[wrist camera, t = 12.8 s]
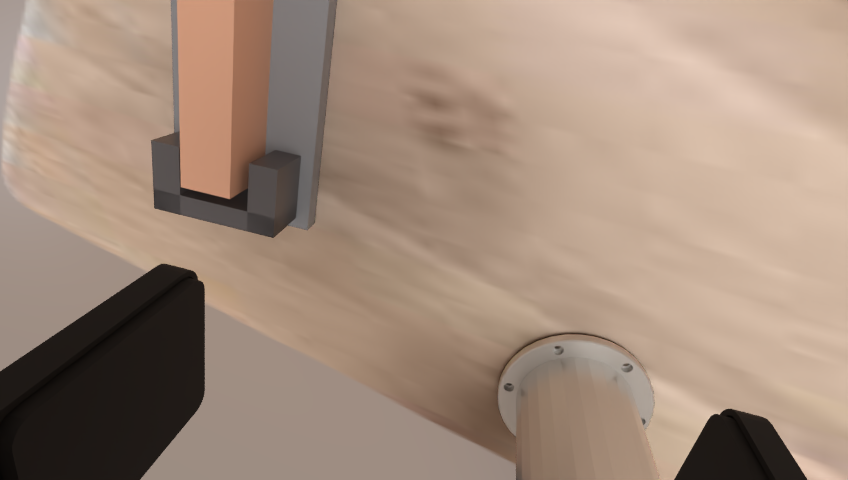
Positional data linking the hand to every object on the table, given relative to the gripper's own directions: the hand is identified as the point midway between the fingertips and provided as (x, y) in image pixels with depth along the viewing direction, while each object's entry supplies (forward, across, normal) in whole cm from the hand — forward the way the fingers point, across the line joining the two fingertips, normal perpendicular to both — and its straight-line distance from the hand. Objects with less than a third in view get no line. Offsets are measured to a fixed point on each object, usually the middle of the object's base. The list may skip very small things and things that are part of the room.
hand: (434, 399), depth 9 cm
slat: (+27, +18, -3) cm, 32 cm away
